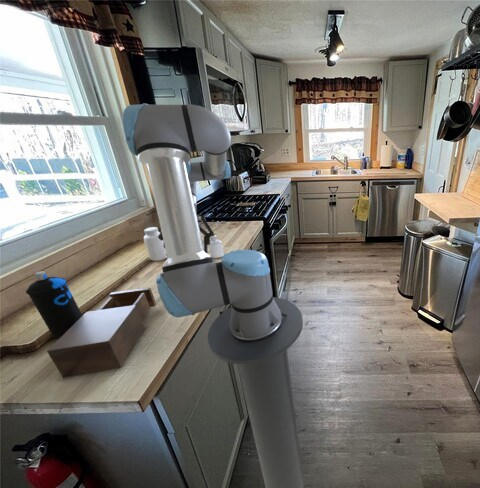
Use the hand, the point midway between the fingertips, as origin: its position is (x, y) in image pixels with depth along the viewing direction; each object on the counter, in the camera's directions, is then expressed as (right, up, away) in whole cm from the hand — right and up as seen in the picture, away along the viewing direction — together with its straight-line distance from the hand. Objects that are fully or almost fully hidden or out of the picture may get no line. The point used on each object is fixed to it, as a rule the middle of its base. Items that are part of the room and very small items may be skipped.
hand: (187, 254), depth 102 cm
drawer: (-8, -19, -19) cm, 28 cm away
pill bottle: (-26, -3, +23) cm, 35 cm away
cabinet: (-5, -25, -31) cm, 40 cm away
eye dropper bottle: (+3, -2, +22) cm, 22 cm away
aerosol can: (-24, -23, -22) cm, 40 cm away
